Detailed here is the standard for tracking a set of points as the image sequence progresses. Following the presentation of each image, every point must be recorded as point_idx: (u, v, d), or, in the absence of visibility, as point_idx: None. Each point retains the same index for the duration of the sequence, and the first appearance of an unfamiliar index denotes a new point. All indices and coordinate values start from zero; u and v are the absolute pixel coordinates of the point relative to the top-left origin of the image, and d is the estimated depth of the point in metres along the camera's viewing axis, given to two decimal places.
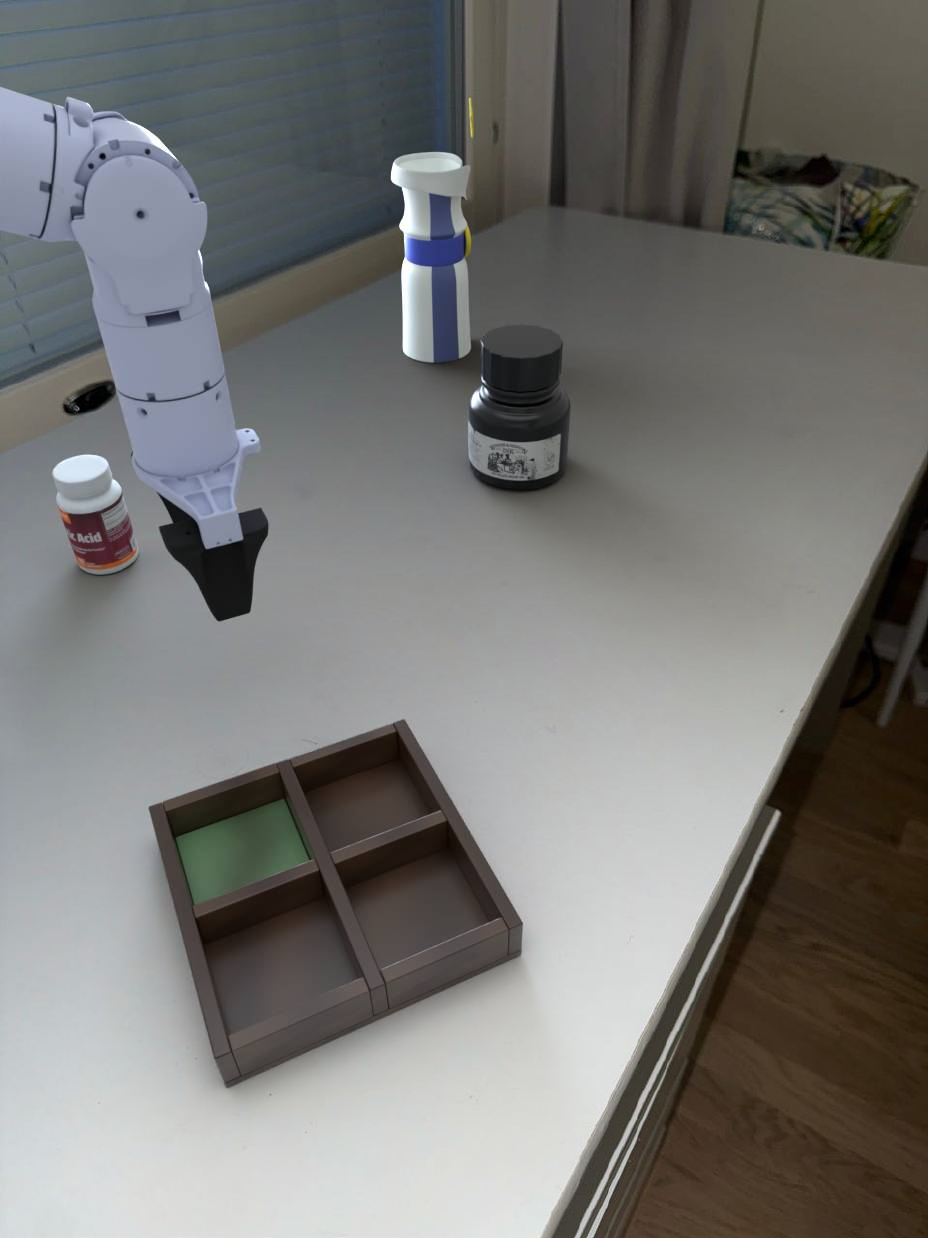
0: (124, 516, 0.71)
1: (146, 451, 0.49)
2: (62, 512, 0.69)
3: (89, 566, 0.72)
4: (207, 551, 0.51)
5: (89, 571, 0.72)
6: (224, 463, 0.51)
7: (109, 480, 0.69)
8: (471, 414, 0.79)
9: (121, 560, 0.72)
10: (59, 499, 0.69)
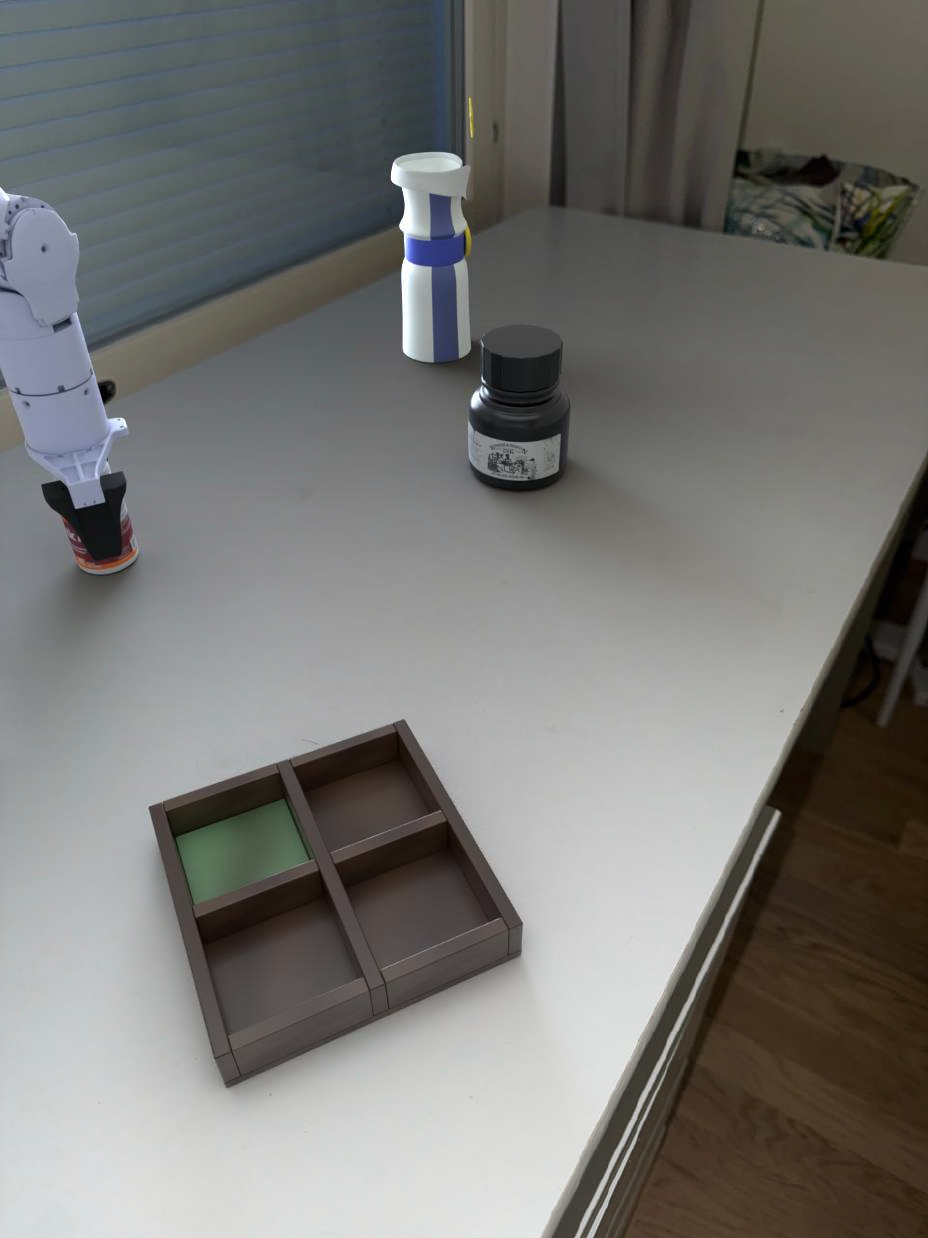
0: (123, 516, 0.71)
1: (32, 434, 0.64)
2: None
3: (89, 566, 0.72)
4: None
5: (89, 571, 0.72)
6: (95, 444, 0.65)
7: None
8: (471, 414, 0.79)
9: (121, 560, 0.72)
10: None
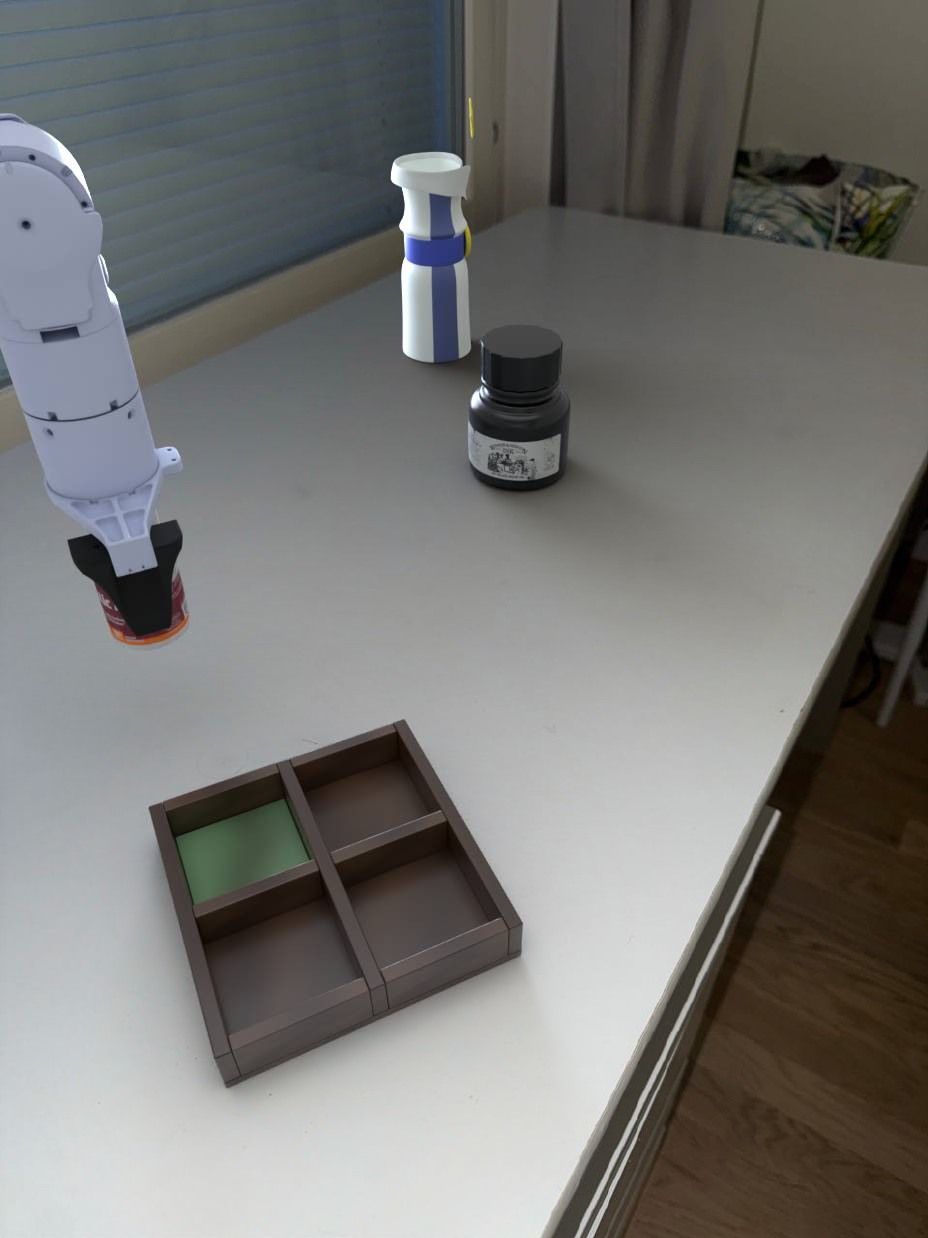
0: (174, 575, 0.54)
1: (55, 472, 0.46)
2: None
3: (128, 641, 0.54)
4: None
5: (128, 647, 0.55)
6: (141, 484, 0.48)
7: None
8: (471, 414, 0.79)
9: (170, 632, 0.55)
10: None
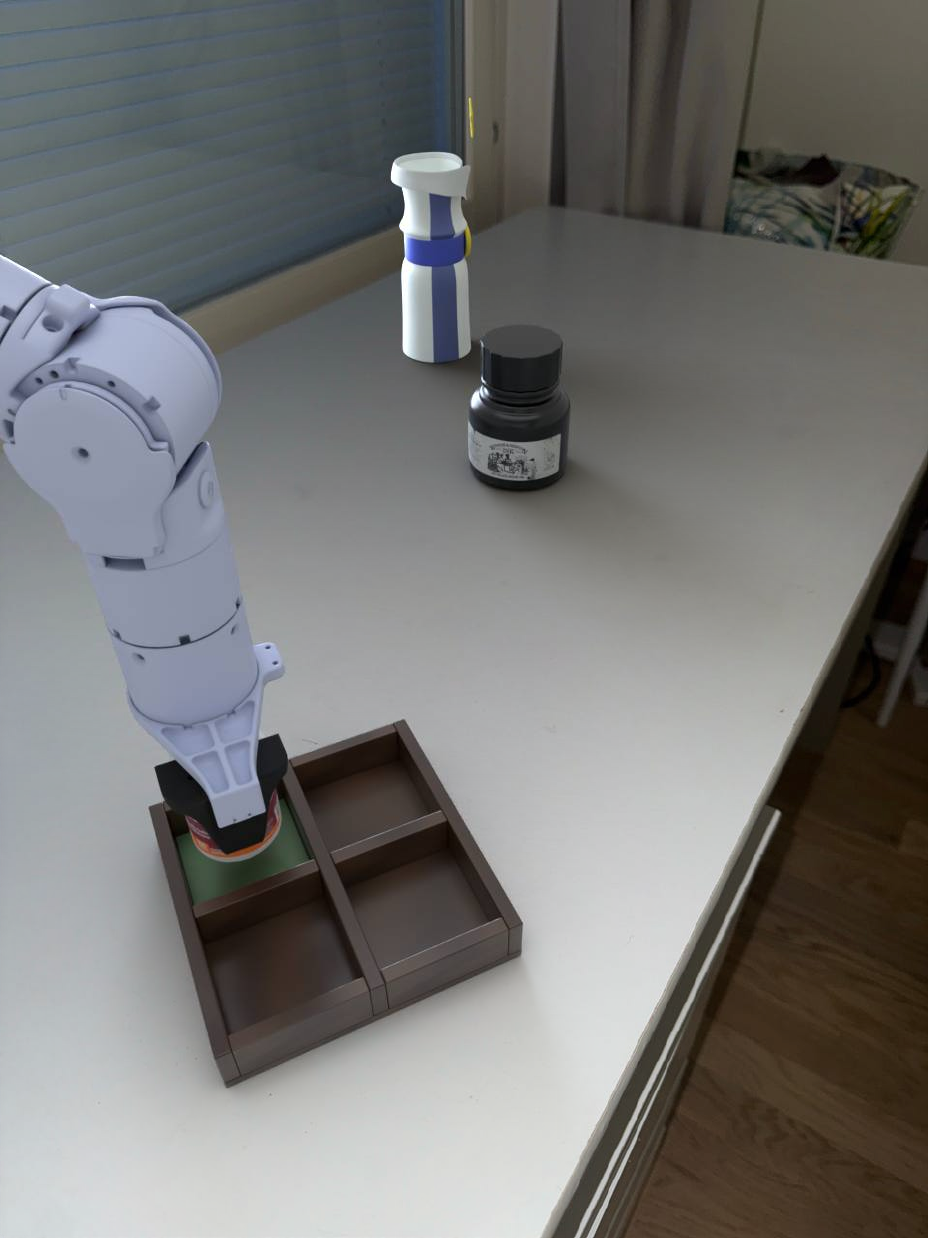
0: None
1: (144, 696, 0.39)
2: None
3: (214, 853, 0.47)
4: None
5: (213, 858, 0.47)
6: (241, 702, 0.41)
7: None
8: (471, 414, 0.79)
9: None
10: None
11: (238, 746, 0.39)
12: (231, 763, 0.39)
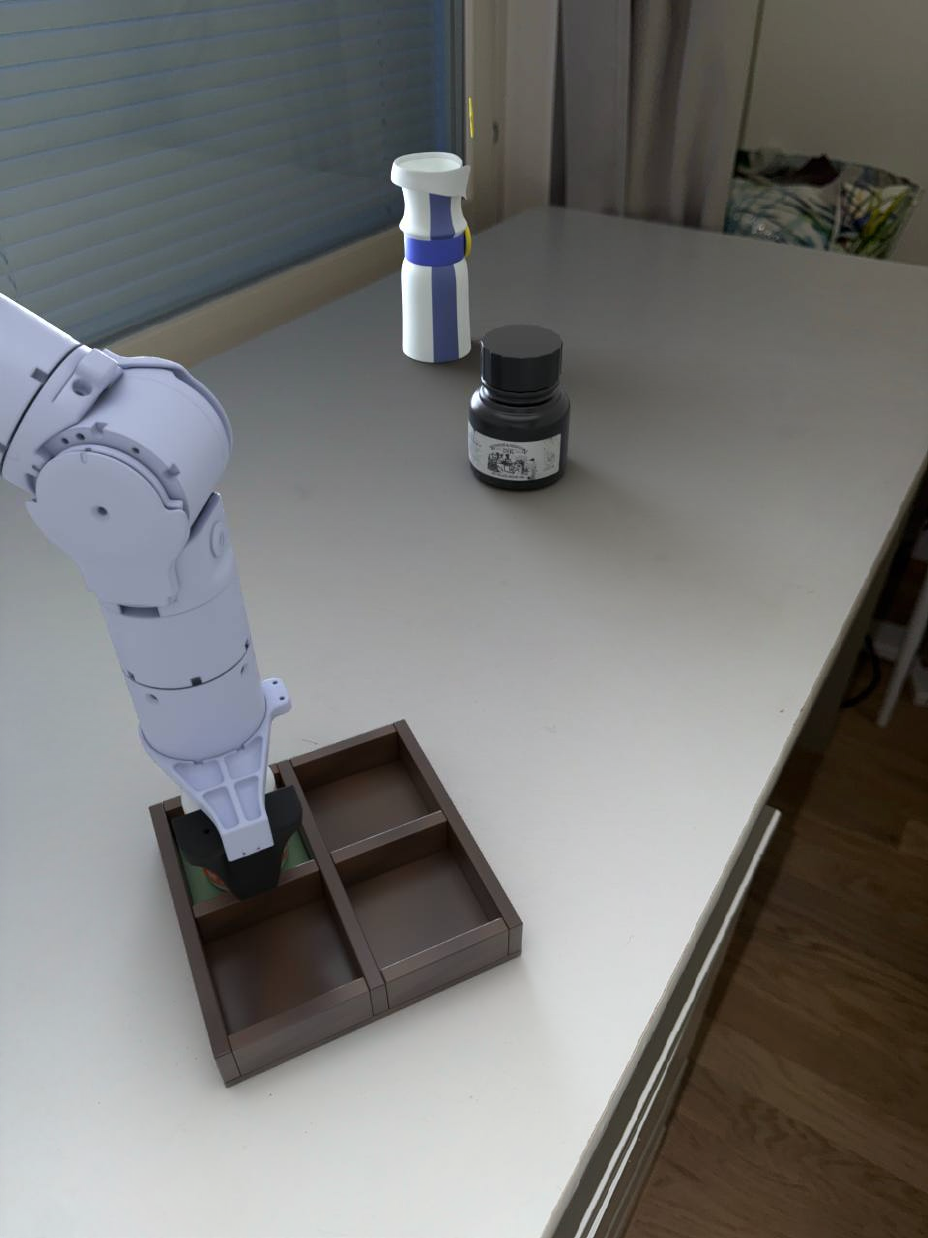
0: None
1: (156, 733, 0.41)
2: None
3: (224, 884, 0.49)
4: None
5: (223, 888, 0.49)
6: (249, 737, 0.42)
7: None
8: (471, 414, 0.79)
9: None
10: (187, 803, 0.46)
11: (247, 782, 0.41)
12: (240, 798, 0.40)
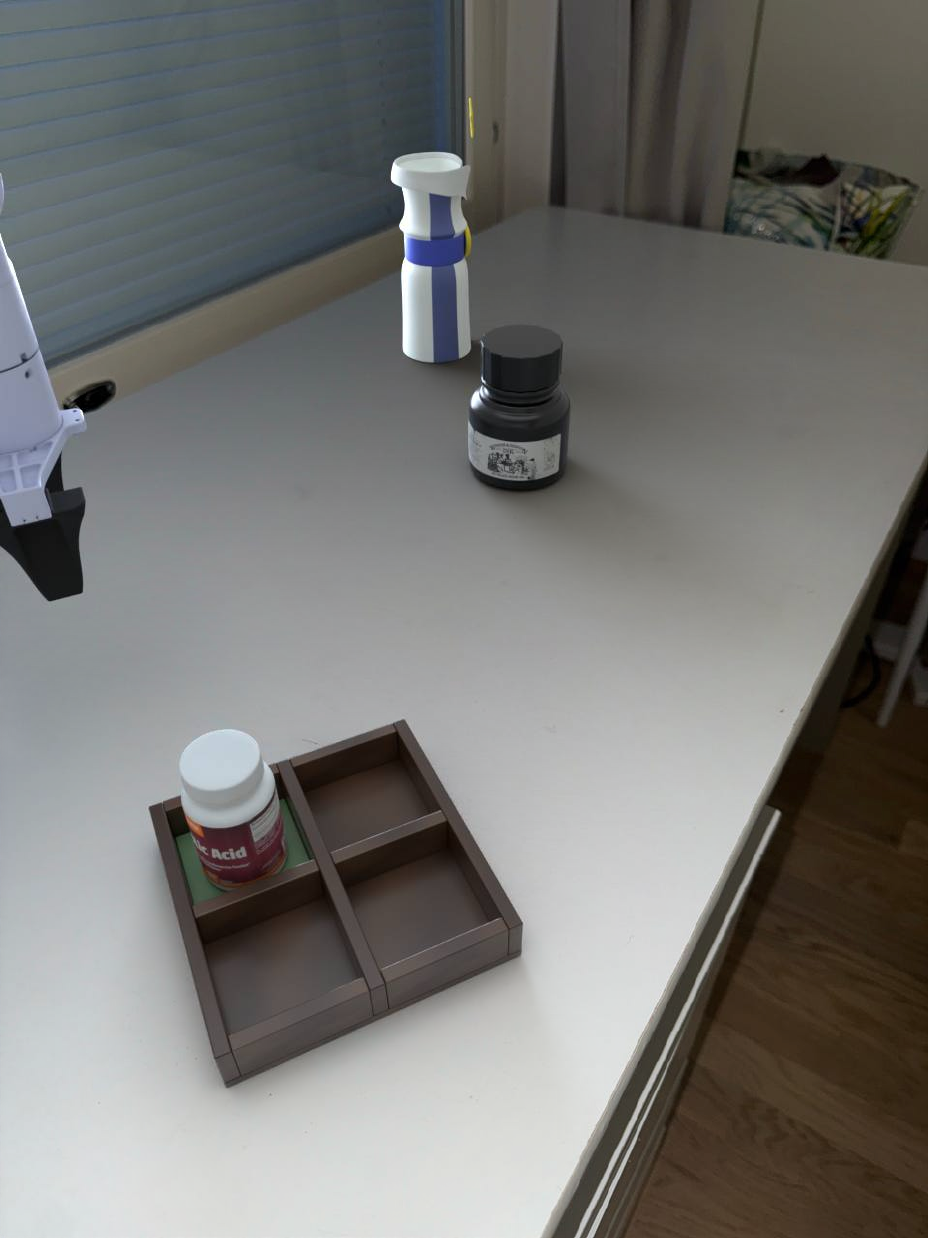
0: (276, 814, 0.48)
1: None
2: (191, 822, 0.46)
3: (224, 884, 0.49)
4: (27, 530, 0.51)
5: (223, 889, 0.49)
6: (41, 442, 0.51)
7: (261, 774, 0.46)
8: (471, 414, 0.79)
9: (269, 872, 0.49)
10: (187, 803, 0.46)
11: (32, 468, 0.49)
12: (24, 479, 0.49)
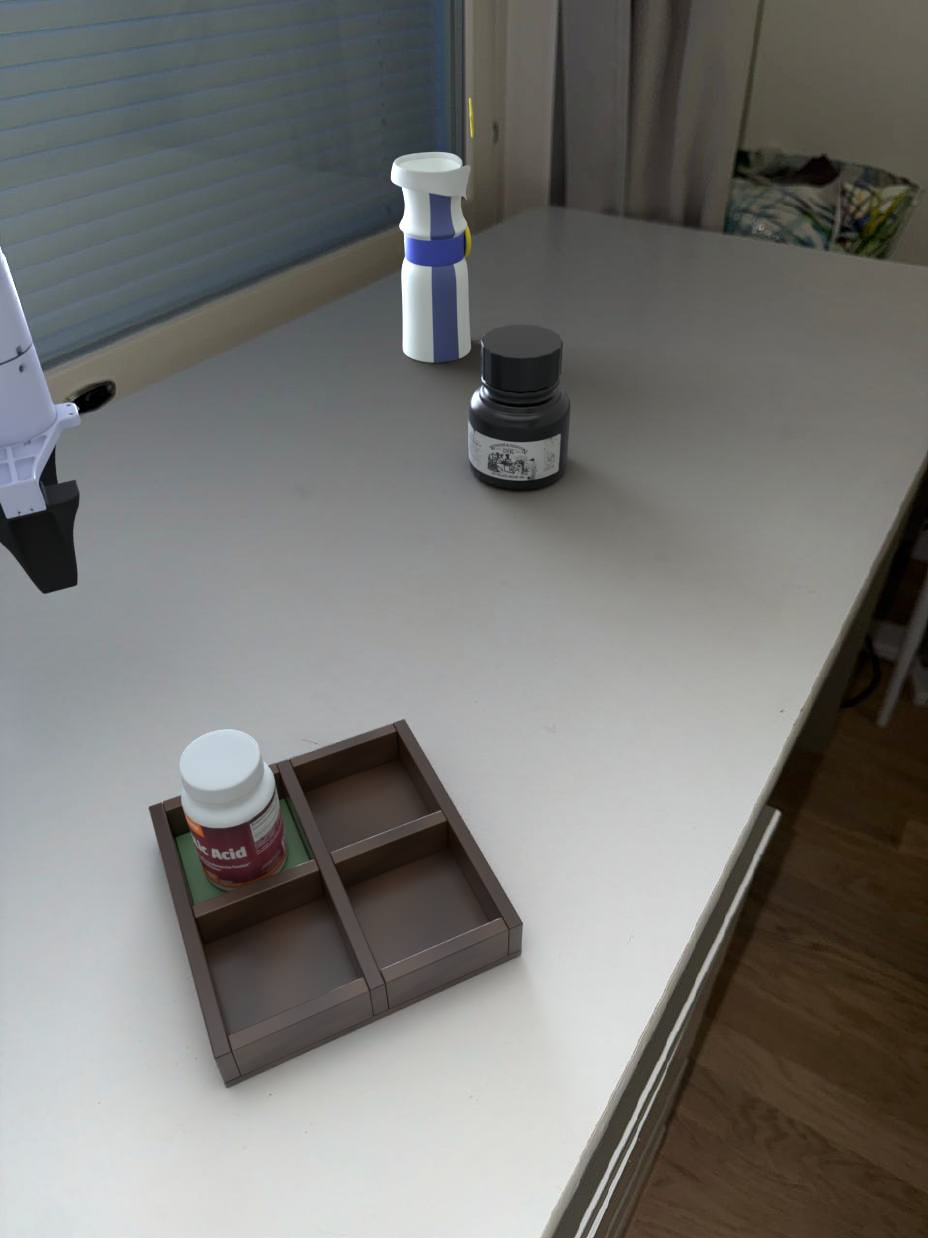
0: (276, 814, 0.48)
1: None
2: (191, 822, 0.46)
3: (224, 884, 0.49)
4: (21, 522, 0.52)
5: (223, 888, 0.49)
6: (36, 435, 0.51)
7: (261, 774, 0.46)
8: (471, 414, 0.79)
9: (269, 872, 0.49)
10: (187, 803, 0.46)
11: (27, 461, 0.50)
12: (19, 471, 0.49)
